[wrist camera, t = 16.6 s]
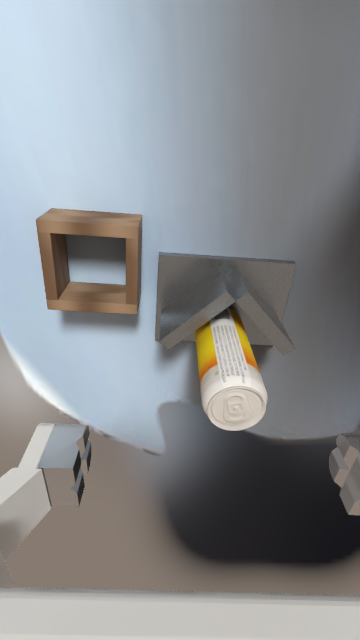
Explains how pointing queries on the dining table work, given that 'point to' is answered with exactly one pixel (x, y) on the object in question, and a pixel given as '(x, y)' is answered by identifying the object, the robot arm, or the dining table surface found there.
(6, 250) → the dining table surface
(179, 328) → the V-block
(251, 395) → the beer can
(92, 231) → the walnut sleeve
